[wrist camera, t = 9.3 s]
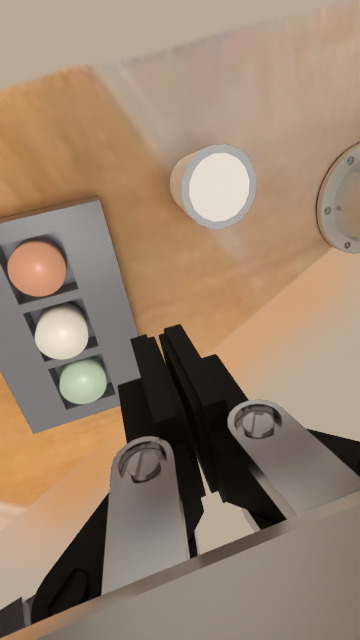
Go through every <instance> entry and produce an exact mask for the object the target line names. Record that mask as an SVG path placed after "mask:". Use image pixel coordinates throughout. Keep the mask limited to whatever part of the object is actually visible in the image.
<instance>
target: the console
mask: <svg viewBox="0 0 360 640" xmlns="http://www.w3.org/2000/svg"><path fill="white" fill-rule="evenodd" d="M32 237H43V238H47V239H50V240H52V241H53V242H55V243H56V244H58V245H59V246H60V247H61V249H62V250H63V252H64V254H65V256H66V260H67V268H66V276H65V280H64V282H63V284H62V286H61V287H60V288H59V289H58V290H57V291H56V292H54V293H52V294H50V295H47V296H31V295H28V294H25V293H23V292H22V291H20V290H19V289H18V288H16V287H15V286H14V284H13V283H12V282H11V280H10V278H9V275H8V269H7V267H8V261H9V259H10V257H11V255H12V254H13V252H14V251H15V249H16V248H17V246H18V245H19V244H20V243H21V242H23V241H24V240H26V239H29V238H32ZM60 303H70V304H73V305H75V306H77V307H78V308H80V309H81V310H82V311H83V312H84V314H85V316H86V318H87V323H88V342H87V345H86V347H85V348H84V350H83V351H82V352H81V353H80V354H78V355H77V356H75V357H73V358H70V359H63V360H60V359H54V358H50V357H48V356H46V355H45V354H43V353H42V352H41V351H40V350H39V348H38V347H37V345H36V342H35V332H36V328H37V324H38V320H39V317H40V314H41V313H42V312H43V310H44V309H45V308H47V307H49V306H53V305H57V304H60ZM135 337H138V333H137V329H136V326H135V322H134V319H133V315H132V311H131V308H130V304H129V301H128V297H127V294H126V290H125V287H124V283H123V280H122V276H121V273H120V269H119V266H118V262H117V259H116V255H115V252H114V248H113V245H112V241H111V238H110V234H109V231H108V227H107V224H106V220H105V217H104V213H103V210H102V206H101V203H100V200H99V198H98V196H94V197H89V198H85V199H81V200H76V201H72V202H68V203H63V204H59V205H55V206H51V207H46V208H42V209H38V210H33V211H29V212H25V213H20V214H16V215H12V216H7V217H3V218H0V372H1V374H2V376H3V377H4V379H5V381H6V383H7V385H8V387H9V389H10V391H11V392H12V394H13V396H14V398H15V400H16V402H17V404H18V406H19V407H20V409H21V411H22V413H23V415H24V417H25V419H26V421H27V422H28V424H29V426H30V428H31V430H32V432H33V434H34V433H38V432H41V431H44V430H47V429H50V428H53V427H56V426H59V425H62V424H65V423H68V422H71V421H74V420H77V419H81V418H84V417H87V416H90V415H93V414H96V413H99V412H102V411H105V410H108V409H111V408H114V407H117V406H120V399H119V393H118V387H117V386H118V385H119V384H122V383H125V382H128V381H132V380H135V379H138V378H141V376H140V373H139V369H138V366H137V362H136V358H135V355H134V351H133V348H132V344H131V341H130V339H131V338H135ZM94 355H97V356H98V357H99V358H100V359H101V360H102V361H103V363H104V366H105V374H106V383H107V385H106V389H105V392H104V393H103V395H102V396H101V397H100V398H99V399H97V400H96V401H94V402H91V403H87V404H76V403H72V402H70V401H68V400H67V399H65V398H64V397H63V395H62V394H61V392H60V374H61V366H62V365H64V364H67V363H71V362H74V361H77V360H81V359H84V358H87V357H90V356H94Z"/></svg>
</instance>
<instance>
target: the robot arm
mask: <svg viewBox="0 0 360 640" xmlns="http://www.w3.org/2000/svg"><path fill="white" fill-rule="evenodd" d="M317 219H318V225H319V228H320V231H321V233H322V235H323V237H324V238H325V240H326V241H327V242H328V243H329V244H330V245H331V246H333V247H335V248H336V249H338V250H341V251H344V252H348V253H360V143H359V144H357V145H355V146H353V147H351V148H350V149H349V150H347V151H346V152H344V153H343V154H342V155H341V156H340V157H339V158H338V160H337V161H336V162H335V163H334V164H333V166H332V167H331V169H330V170H329V172H328V174H327V175H326V177H325V179H324V181H323V184H322V187H321V189H320V192H319V197H318V202H317ZM159 338H160V343H161V346H162V350H163V354H164V358H165V361H164V359H163V357H162V354H161V352H160V349H159V347H158V345H157V342H156V340H155V338H154V337H150V338H148V337H147V335H146V334H145V335H141V336H138V337H135V338H131V339H130V341H131V344H132V348H133V351H134V355H135V358H136V362H137V366H138V369H139V373H140V376H141V378H138V379H135V380H132V381H128V382H125V383H122V384H119V385H118V386H117V387H118V393H119V399H120V405H121V411H122V417H123V423H124V428H125V434H126V440H127V444H126V445H125V446H124V447H123V448H122V449H121V450H120V451H119V452H118V453H117V454H116V456H115V458H114V459H113V463H112V467H111V476H110V489H109V493H108V494H107V496H106V497H105V498H104V500H103V501H102V502H101V504H100V505H99V506H98V508H97V509H96V510H95V512H94V513H93V514H92V516H91V517H90V518H89V520H88V521H87V522H86V524H85V525H84V526H83V528H82V529H81V530H80V532H79V533H78V534H77V535H76V537H75V538H74V540H73V541H72V542H71V544H70V545H69V546H68V548H67V549H66V550H65V551H64V553H63V554H62V555H61V557H60V558H59V560H58V561H57V562H56V563H55V565H54V566H53V567H52V569H51V570H50V571H49V573H48V574H47V575H46V577H45V578H44V580H43V582H42V583H41V585H40V587H39V588H38V590H37V593H36V594H35V595H33V596H32V597H30V598H29V599H27V600H26V601H25V600H24V599H23V597H20V598H19V599H17V600H16V601H14V602H12V603H11V604H9V605H8V606H6V607H5V608H3V609H1V610H0V640H360V442H359V441H355V440H351V439H346V438H342V437H338V436H334V435H330V434H326V433H322V432H317V431H313V430H309V429H305V428H304V427H303V426H302V425H301V424H300V423H299V422H298V421H297V420H295V419H294V418H293V417H292V416H291V415H290V414H289V413H288V412H287V411H285V410H284V409H283V408H282V407H280V406H279V405H277V404H276V403H273V402H270V401H267V400H248V399H247V397H246V396H245V394H244V393H243V391H242V390H241V389H240V387H239V386H238V384H237V383H236V382H235V380H234V379H233V377H232V376H231V374H230V373H229V372H228V370H227V369H226V368H225V366H224V364H223V363H222V362H221V360H220V359H219V357H218V356H217V355H216V354H214V355H211V356H208V357H204V358H201V357H200V355H199V354H198V352H197V350H196V349H195V347H194V346H193V344H192V342H191V341H190V339H189V337H188V336H187V334H186V332H185V331H184V329H183V328H182V326H181V325H180V324H178V325H175V326H172V327H168V328H165V329H164V334H160V335H159ZM165 362H166V364H165ZM197 458H198V461H199V463H200V466H201V468H202V471H203V474H204V476H205V479H206V481H207V483H208V486H209V489H210V491H211V493H214V492H217V491H218V492H219V494H220V496H221V499H222V501H223V503H225V502H228V503H231V504H234V505H236V506H239V507H241V508H242V511H243V514H244V515H245V518H246V519H247V521H248V522H249V524H250V526H251V527H252V529H253V530H254V531H255V533H253V534H251V535H248V536H245V537H243V538H241V539H238V540H236V541H233V542H231V543H228V544H226V545H223V546H221V547H218V548H216V549H213V550H211V551H209V552H206V553H204V554H201V555H200V553H199V546H198V540H197V535H196V532H195V529H196V527H197V524H198V523H199V520H200V519H201V517H202V515H203V512H204V509H203V505H202V501H201V497H204V496H206V494H205V489H204V485H203V481H202V477H201V473H200V469H199V465H198V461H197Z"/></svg>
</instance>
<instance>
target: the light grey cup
mask: <svg viewBox="0 0 360 640" xmlns="http://www.w3.org/2000/svg"><path fill="white" fill-rule="evenodd" d="M170 192H171V194H172V196H173V198H174V201H175V202H176V203H177V204H178V205H179V206H180V207H181V208H182V209H183V210H184V211H185V212H186V213H187V214H189V215H190V216H191V217H192V218H193V219H194V220H195V221H196V222H197V223H198V224H199V225H202V226H204V227H207V228H210V229H220V228H227V227H229V226H231V225H233V224H235V223H236V222H238V221H240V220H241V219H242V217H243V216H244V215H245V214H246V213H247V212H248V210H249V209H250V207H251V205H252V202H253V199H254V197H255V194H256V175H255V171H254V168H253V165H252V162H251V161H250V160H249V159H248V157H247V156H246V155H245V154H244V153H243V151H242V150H240V149H238V148H235V147H233V146H231V145H229V144H219V145H211V146H208V147H206V148H203V149H201V150H198V151H196V152H193V153H191V154H189V155H187V156H185V157H183V158H181V159H180V160H179V161H178V163H177V164H176V165H175V166H174V168H173V170H172V173H171V176H170Z"/></svg>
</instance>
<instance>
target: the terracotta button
mask: <svg viewBox="0 0 360 640" xmlns="http://www.w3.org/2000/svg"><path fill="white" fill-rule="evenodd" d="M66 268H67V260H66V256H65V254H64V252H63V250H62V249H61V247H60V246H59V245H58V244H56V243H55V242H53V241H52V240H50V239H47V238H43V237H32V238H29V239H26V240H24V241H23V242H21V243H20V244H19V245H18V246H17V248H16V249H15V251H14V252H13V254H12V255H11V257H10V259H9V261H8V267H7V269H8V275H9V278H10V280H11V282H12V283H13V284H14V286H15V287H16V288H18V289H19V290H20V291H22V292H23V293H25V294H28V295H31V296H47V295H50V294H52V293H54V292H56V291H57V290H58V289H59V288H60V287H61V286H62V284H63V282H64V280H65V276H66Z"/></svg>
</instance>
